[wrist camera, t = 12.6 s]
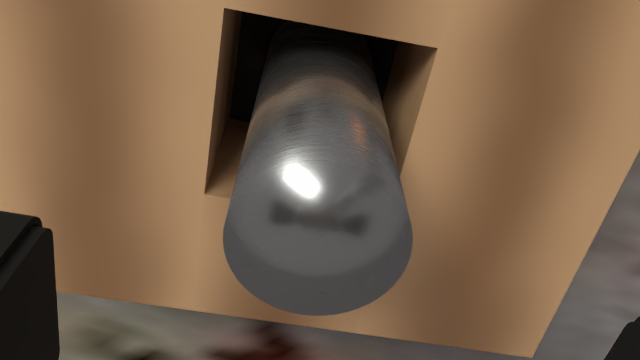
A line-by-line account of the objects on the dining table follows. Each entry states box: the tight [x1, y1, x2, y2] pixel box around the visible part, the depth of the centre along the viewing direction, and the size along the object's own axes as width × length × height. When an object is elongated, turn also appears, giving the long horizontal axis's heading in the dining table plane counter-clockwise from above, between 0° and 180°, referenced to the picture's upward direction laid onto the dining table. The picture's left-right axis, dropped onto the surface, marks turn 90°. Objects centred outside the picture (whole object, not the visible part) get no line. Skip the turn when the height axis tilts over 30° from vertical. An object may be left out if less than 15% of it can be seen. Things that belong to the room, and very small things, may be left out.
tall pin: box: [223, 20, 413, 316], centre depth 17 cm, size 4×4×12 cm
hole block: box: [0, 0, 640, 358], centre depth 20 cm, size 20×16×6 cm
